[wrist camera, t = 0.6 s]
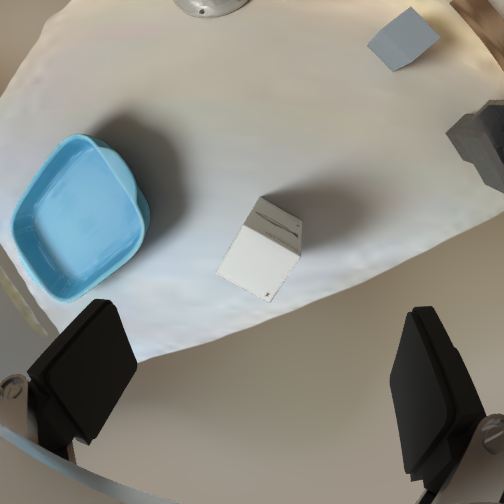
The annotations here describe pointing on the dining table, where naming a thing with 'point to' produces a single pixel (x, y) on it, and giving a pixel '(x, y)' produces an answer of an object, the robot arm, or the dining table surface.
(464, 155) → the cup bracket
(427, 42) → the grey blue block
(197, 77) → the dining table surface
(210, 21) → the dining table surface
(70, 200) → the casserole dish
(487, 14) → the rail
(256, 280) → the supplement box
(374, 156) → the dining table surface
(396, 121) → the dining table surface
